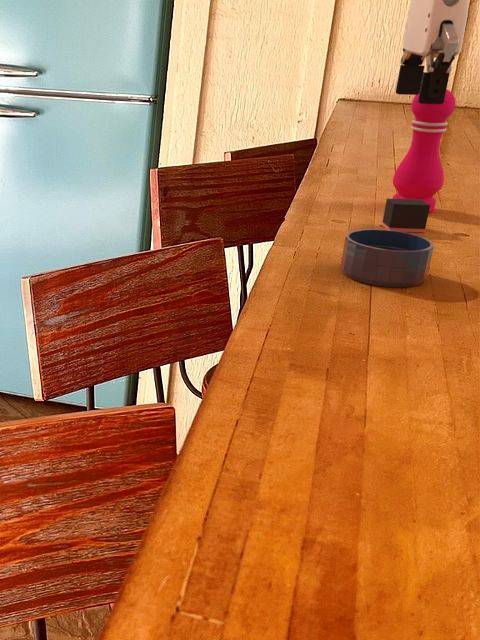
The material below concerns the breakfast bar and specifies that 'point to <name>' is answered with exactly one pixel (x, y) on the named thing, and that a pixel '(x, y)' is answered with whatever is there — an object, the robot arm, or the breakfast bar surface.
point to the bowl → (386, 257)
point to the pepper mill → (424, 152)
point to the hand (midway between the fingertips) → (418, 98)
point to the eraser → (405, 215)
